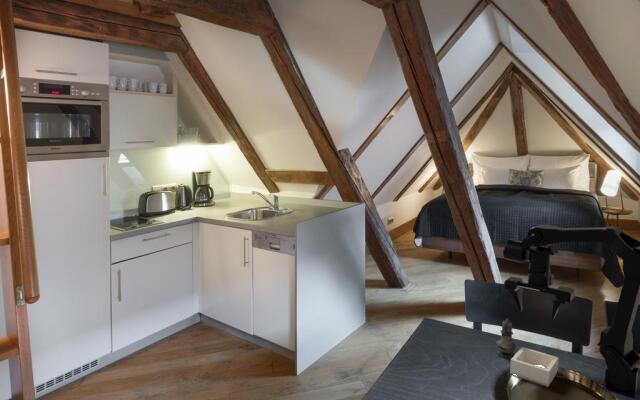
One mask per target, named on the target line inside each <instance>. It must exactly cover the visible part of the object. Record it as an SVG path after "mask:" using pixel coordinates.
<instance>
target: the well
mask: <svg viewBox="0 0 640 400" xmlns="http://www.w3.org/2000/svg"><path fill="white" fill-rule="evenodd" d="M514 354H515V355H514V357H513V358H511V359H510V365H509V366H510V368H509V369H510V371H509V374H510V375H511V374H516V375H517V376H518V377H517V376H516V377H517V378H520V379H523V380H526V381H528V382H531V383H535V384H538V385H540V386H544V387H546V388H549V386H550V385H551V383H552V381H553V380H554V379H555V377H556V375H557V374H558V373H557V370H558V371H559V360H560V359H559V358H560V357H559V356H555V355H553V354H551V355H550V354H547V353H544V352H541V351H538V350H534V349H530V348H528V347H524V346H521V348H520V349H519V350H518V351H517V352H516V353H514ZM535 365H542V366H544V367H545V368H542V367H538V366H535Z"/></svg>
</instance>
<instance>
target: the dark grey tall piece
mask: <svg viewBox="0 0 640 400" xmlns="http://www.w3.org/2000/svg"><path fill="white" fill-rule="evenodd" d="M500 333H501V336H500V337H501V338H500V339H498V340H496V347H497V349H498V350H497V351H496V354H497V356H498V357H501V358H502V359H507V360H509V359H510V360H511V359H512V358H513V357H514V355H515V354H516V353H514V351H515V350H516V348H517V343H516V342H514V341H513V338H512V337H513V336H512V335H513V334H514V332H513V322H511V321H510V320H509V318H506V319H505V320H503V321H502V324H501V330H500Z"/></svg>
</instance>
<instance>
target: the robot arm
mask: <svg viewBox="0 0 640 400" xmlns="http://www.w3.org/2000/svg"><path fill="white" fill-rule="evenodd" d="M557 243H605V244H607V246H609V248H610V249H611V250H612V251H613V253H614V255H616V256H617V257H619V258H620V259H621V260H622V274H623V282H622V283H623V284H622V287H621V290H620V294H619V297H618V298H619V299H618V301H617V304H616V309H615V313H614V317H613V320H612V324H611V326H610V325H609V326H608V327H605V329H603V330H602V331H601V332H600V336H599V341H598V343H597V346H599V349H598V350H599V353H600V354H601V356H602V358H604V361H605V364H606V365H605V366H606V368H605V374H604V384H605V389H606V390H609V391H612V392H614V393H618V394H621V395H624V396H627V397H630V398H635V397H636V395H637V392H638V389H639V386H638V379H639V368H638V366H639V365H640V355H639V353H637V351H636V350H635V349H634V337H633V330H632V329H633V325H634V321H635V317H636V315H637V311H638V308H639V307H638V306H639V304H640V241H639V239H637V238H635V237H633V236H631V235H629V234H628V233H626V232H624V230H622V229H620V228H619V227H617V226H611V225H610V226H608V227H607V226H605V227H604V226H603V227H602V226H601V227H560V226H557V225H552V224H541V225H536V226H533V227H531V228H530V229H529V230H528V231H527V236H526V237H525V238H524V239H523V240H518V239H515V238H508V239H507V243H506V244H505V246H504V248H503V251H502V255H503V259H504V260H506V261H507V260H508V261H512V262H517V263H520V264H525V263H526V262H528V270H527V274H528V277H527V281H528V282H524V280H523V278H521V277H515V276H509V278H507V279H505V280H504V282H503V289H505V290H507V292H508V293H510V294H511V296H512V297H513V299H514V301H515V303H516V306H517V309H518V310H519V312H520V313H522V312H523V307H524V306H523V302H524V301H523V293H524V290H528V291H529V290H530V291H533V292H534V291H535V292H538V293H543V294H548V295H553V296H554V300H553V303H552V312H551V320H552V321H553V320H555V318H556V317H557V314H558V312H559V309H560V308H561V306H562V305H565V304H567V303H571V302H572V301H573V299H574V298H575V294H576V292H575V289H574V288H573V287H569V286H562V285H560V286H558V287H557V288H554V287H551V286H552V285H554V278H555V274H553V273H551V258H552V257H551V256H555V255H558V254H559V251H558V249H557V248H555V247H554V245H552V244H557ZM547 245H549V246H547ZM533 246H535V247H533Z"/></svg>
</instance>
